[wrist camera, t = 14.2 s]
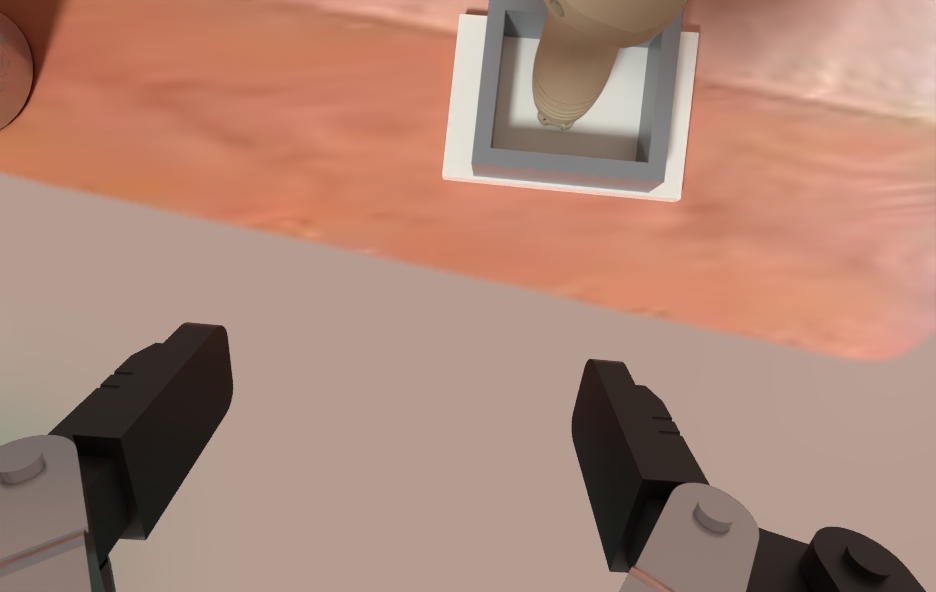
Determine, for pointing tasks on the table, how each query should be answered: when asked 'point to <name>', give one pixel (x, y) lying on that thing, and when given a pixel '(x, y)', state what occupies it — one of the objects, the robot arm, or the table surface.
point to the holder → (592, 136)
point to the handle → (588, 50)
